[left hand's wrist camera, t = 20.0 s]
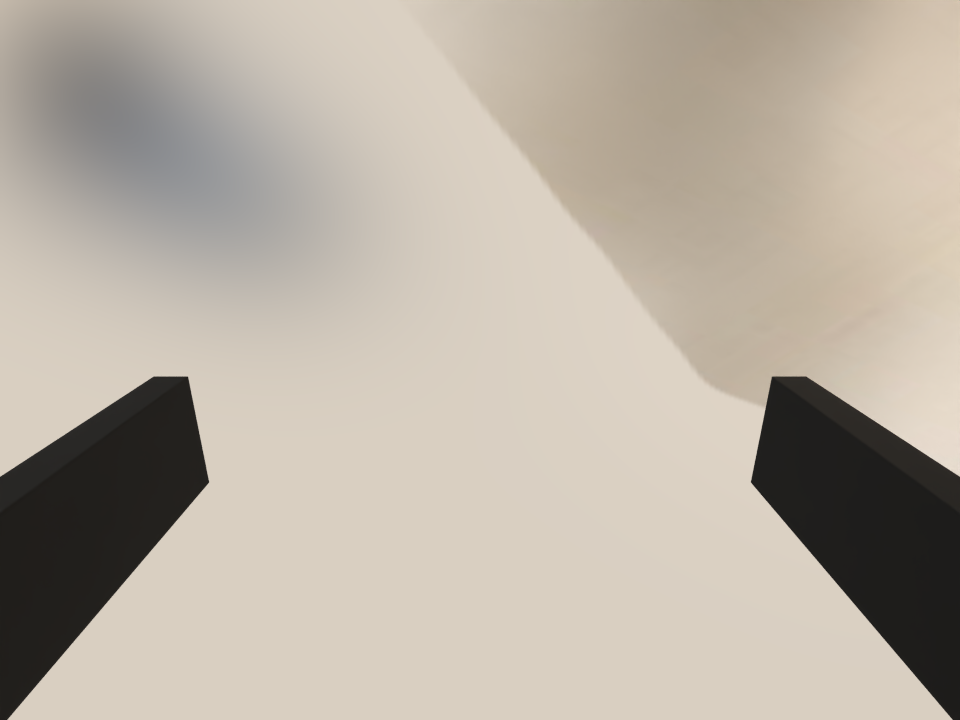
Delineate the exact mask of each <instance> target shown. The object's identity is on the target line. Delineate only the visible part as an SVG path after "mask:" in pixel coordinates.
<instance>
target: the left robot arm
mask: <svg viewBox="0 0 960 720" xmlns="http://www.w3.org/2000/svg"><path fill="white" fill-rule="evenodd" d="M208 483H209V480H208V475H207V470H206V465H205V460H204V455H203V450H202V445H201V440H200V435H199V430H198V425H197V420H196V415H195V410H194V405H193V400H192V395H191V390H190V385H189V380H188V377H152V378H151V379H149V380H148V381H146V382H145V383H143V384H142V385H140V386H139V387H137V388H136V389H134V390H133V391H131V392H130V393H128V394H126V395H125V396H123V397H122V398H120V399H119V400H117V401H116V402H114V403H113V404H111V405H110V406H108V407H107V408H105V409H103V410H102V411H100V412H99V413H97V414H96V415H94V416H93V417H91V418H90V419H88V420H87V421H85V422H84V423H82V424H80V425H79V426H77V427H76V428H74V429H73V430H71V431H70V432H68V433H67V434H65V435H64V436H62V437H61V438H59V439H57V440H56V441H54V442H53V443H51V444H50V445H48V446H47V447H45V448H44V449H42V450H41V451H39V452H38V453H36V454H34V455H33V456H31V457H30V458H28V459H27V460H25V461H24V462H22V463H21V464H19V465H18V466H16V467H15V468H13V469H12V470H10V471H8V472H7V473H5V474H4V475H2V476H1V477H0V720H7V719H8V718H9V717H10V716H11V715H12V713H13V712H14V711H15V710H16V709H17V708H18V706H19V705H20V704H21V703H22V702H23V701H24V699H25V698H26V697H27V696H28V695H29V693H30V692H31V691H32V690H33V689H34V688H35V686H36V685H37V684H38V683H39V682H40V681H41V679H42V678H43V677H44V676H45V675H46V674H47V672H48V671H49V670H50V669H51V668H52V666H53V665H54V664H55V663H56V662H57V661H58V659H59V658H60V657H61V656H62V655H63V654H64V652H65V651H66V650H67V649H68V648H69V646H70V645H71V644H72V643H73V642H74V641H75V639H76V638H77V637H78V636H79V635H80V633H81V632H82V631H83V630H84V629H85V628H86V626H87V625H88V624H89V623H90V622H91V621H92V619H93V618H94V617H95V616H96V615H97V614H98V612H99V611H100V610H101V609H102V608H103V606H104V605H105V604H106V603H107V602H108V601H109V599H110V598H111V597H112V596H113V595H114V593H115V592H116V591H117V590H118V589H119V588H120V586H121V585H122V584H123V583H124V582H125V581H126V579H127V578H128V577H129V576H130V575H131V574H132V572H133V571H134V570H135V569H136V568H137V567H138V565H139V564H140V563H141V562H142V561H143V559H144V558H145V557H146V556H147V555H148V554H149V552H150V551H151V550H152V549H153V548H154V546H155V545H156V544H157V543H158V542H159V541H160V539H161V538H162V537H163V536H164V535H165V534H166V532H167V531H168V530H169V529H170V528H171V526H172V525H173V524H174V523H175V522H176V521H177V519H178V518H179V517H180V516H181V515H182V514H183V512H184V511H185V510H186V509H187V508H188V507H189V505H190V504H191V503H192V502H193V501H194V499H195V498H196V497H197V496H198V495H199V494H200V492H201V491H202V490H203V489H204V488H205V487H206V485H207V484H208ZM751 483H752V484H753V485H754V487H755V488H756V489H757V490H758V491H759V492H760V494H761V495H762V496H763V497H764V498H765V499H766V501H767V502H768V503H769V504H770V505H771V507H772V508H773V509H774V510H775V511H776V512H777V514H778V515H779V516H780V517H781V518H782V519H783V521H784V522H785V523H786V524H787V525H788V527H789V528H790V529H791V530H792V531H793V532H794V534H795V535H796V536H797V537H798V538H799V539H800V541H801V542H802V543H803V544H804V545H805V547H806V548H807V549H808V550H809V551H810V552H811V554H812V555H813V556H814V557H815V558H816V559H817V561H818V562H819V563H820V564H821V565H822V566H823V568H824V569H825V570H826V571H827V572H828V574H829V575H830V576H831V577H832V578H833V579H834V581H835V582H836V583H837V584H838V585H839V587H840V588H841V589H842V590H843V591H844V592H845V594H846V595H847V596H848V597H849V598H850V599H851V601H852V602H853V603H854V604H855V605H856V606H857V608H858V609H859V610H860V611H861V612H862V614H863V615H864V616H865V617H866V618H867V619H868V621H869V622H870V623H871V624H872V625H873V626H874V628H875V629H876V630H877V631H878V632H879V633H880V635H881V636H882V637H883V638H884V639H885V641H886V642H887V643H888V644H889V645H890V646H891V648H892V649H893V650H894V651H895V652H896V654H897V655H898V656H899V657H900V658H901V659H902V661H903V662H904V663H905V664H906V665H907V666H908V668H909V669H910V670H911V671H912V672H913V674H914V675H915V676H916V677H917V678H918V679H919V681H920V682H921V683H922V684H923V685H924V686H925V688H926V689H927V690H928V691H929V692H930V693H931V695H932V696H933V697H934V698H935V699H936V701H937V702H938V703H939V704H940V705H941V706H942V708H943V709H944V710H945V711H946V712H947V713H948V715H949V716H950V717H951V718H952V719H953V720H960V477H959V476H958V475H956V474H955V473H953V472H952V471H950V470H948V469H947V468H945V467H944V466H942V465H941V464H939V463H938V462H936V461H935V460H933V459H932V458H930V457H929V456H927V455H926V454H924V453H922V452H921V451H919V450H918V449H916V448H915V447H913V446H912V445H910V444H909V443H907V442H906V441H904V440H903V439H901V438H899V437H898V436H896V435H895V434H893V433H892V432H890V431H889V430H887V429H886V428H884V427H883V426H881V425H880V424H878V423H876V422H875V421H873V420H872V419H870V418H869V417H867V416H866V415H864V414H863V413H861V412H860V411H858V410H857V409H855V408H853V407H852V406H850V405H849V404H847V403H846V402H844V401H843V400H841V399H840V398H838V397H837V396H835V395H834V394H832V393H830V392H829V391H827V390H826V389H824V388H823V387H821V386H820V385H818V384H817V383H815V382H814V381H812V380H811V379H809V378H808V377H772V380H771V385H770V390H769V395H768V400H767V405H766V410H765V415H764V420H763V425H762V430H761V435H760V440H759V445H758V450H757V455H756V460H755V465H754V470H753V475H752V480H751Z"/></svg>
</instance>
